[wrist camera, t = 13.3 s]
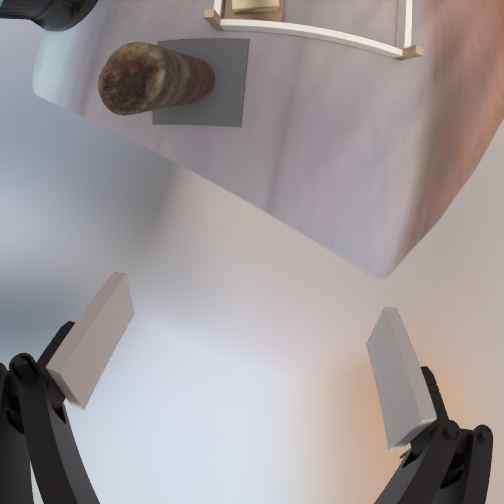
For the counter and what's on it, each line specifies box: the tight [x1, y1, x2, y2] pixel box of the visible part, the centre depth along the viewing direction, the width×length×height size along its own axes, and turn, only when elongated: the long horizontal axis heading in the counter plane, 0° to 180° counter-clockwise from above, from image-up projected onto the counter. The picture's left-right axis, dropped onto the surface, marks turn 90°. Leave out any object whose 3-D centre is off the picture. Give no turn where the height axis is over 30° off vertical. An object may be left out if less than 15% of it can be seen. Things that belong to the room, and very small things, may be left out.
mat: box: [153, 38, 249, 127], centre depth 37 cm, size 14×14×1 cm
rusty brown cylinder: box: [98, 42, 215, 116], centre depth 28 cm, size 8×7×20 cm
